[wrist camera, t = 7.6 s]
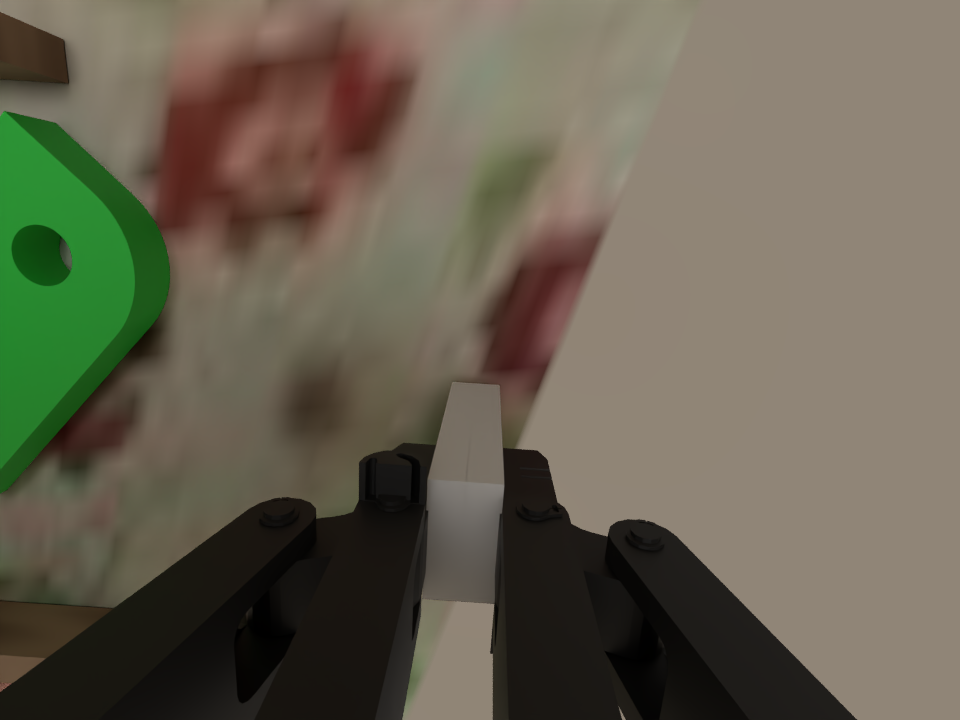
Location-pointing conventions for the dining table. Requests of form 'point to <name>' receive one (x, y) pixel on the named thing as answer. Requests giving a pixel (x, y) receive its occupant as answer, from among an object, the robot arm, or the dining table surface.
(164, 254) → the mechanical part
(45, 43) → the bay
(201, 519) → the dining table surface
